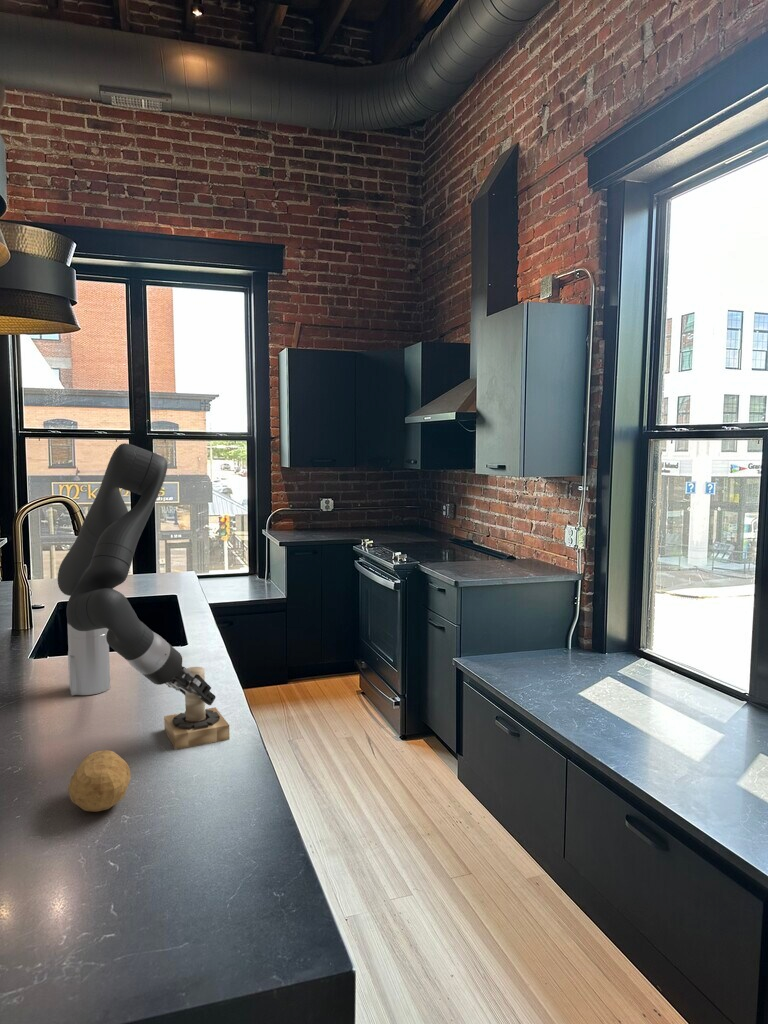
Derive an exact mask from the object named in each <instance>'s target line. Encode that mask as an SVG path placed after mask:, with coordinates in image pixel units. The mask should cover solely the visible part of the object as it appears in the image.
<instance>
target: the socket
mask: <svg viewBox="0 0 768 1024" xmlns="http://www.w3.org/2000/svg"><path fill="white" fill-rule="evenodd" d="M205 715H206V720H205V721H203V722H198V723H189V722H186V710H185V711H184V712H180V713H175V714H174V713H173V714H169V715H164V716H163V717H164V718H163V720H164V721H163V723H164V732H165V733H166V735H167V737H168V739H169V741H170V742H171V744H172V747H173V748H174V750H176V749H177V750H181V748H182V749H186V747H187V748H192V747H197V746H201V745H206V744H211V743H216V742H222V741H228V740H230V724H229V723H228V722H227V720H226V719H225V717H224V716H223V715H222V713H221V712H220V711H219V710H218V708H217V707H211V708H209V707H208V708H205Z"/></svg>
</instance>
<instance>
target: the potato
mask: <svg viewBox="0 0 768 1024" xmlns="http://www.w3.org/2000/svg"><path fill="white" fill-rule="evenodd" d="M131 774H132V773H131V769H130V765H128V763H127V761H125V760H124V759H123V758H122V757H121V756H120V755H119V754H117V753H116V752H114V751H112V750H106V749H104V750H98V751H94V752H92V753H90V754H88V755H87V756H85V757H84V758H83V760H82V761H81V762H80V763H79V765H78V766H77V768H76V769H75V771H74V772H73V775H72V777H71V778H70V782H69V784H68V790H67V791H68V794H69V799H70V800H71V802H72V803H73V804H75V805H76V806H78V808H80V809H82V811H85V812H94V813H95V812H101V811H106V810H109V809H111V808H112V807H114V806H115V805H116V804H117V803H119V802H120V801H121V800H123V799H124V798H125V796H126V794H127V791H128V787H129V784H130V781H131V780H132V777H131Z"/></svg>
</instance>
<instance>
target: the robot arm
mask: <svg viewBox="0 0 768 1024" xmlns="http://www.w3.org/2000/svg"><path fill="white" fill-rule="evenodd" d="M167 473H168V460H167V459H166V457H164V456H162V455H160V454H158V453H155V452H153V451H150V450H148V449H145V448H142V447H139V446H137V445H134V444H131V443H121V444H119V445H117V446H116V448H115V449H114V451H113V453H112V454H111V457H110V458H109V461H108V464H107V466H106V470H105V472H104V475H103V478H102V481H101V484H100V487H99V489H98V491H97V494H96V495H95V498H94V500H93V502H92V504H91V506H90V508H89V510H88V512H87V514H86V515H85V517H84V520H83V522H82V525H81V528H80V530H79V532H78V535H77V537H76V539H75V541H74V543H73V545H72V546H71V547H70V549H69V551H67V553H66V554H65V556H64V557H63V560H62V561H61V563H60V565H59V568H58V572H57V586H58V588H59V591H61V593H63V595H66V596H69V599H68V601H67V603H66V604H67V605H66V610H65V611H66V618H67V619H66V620H67V621H66V622H67V623H66V624H67V645H68V651H67V661H68V665H67V666H68V668H67V669H68V687H69V688H68V689H69V693H70V696H90V695H96V694H101V693H104V692H106V691H108V690H109V689H110V688H111V664H110V648H111V649H113V650H114V652H116V653H117V654H119V655H120V656H121V657H122V658H123V659H124V660H125V661H127V662H128V664H129V665H130V666H131V667H132V668H133V669H135V670H136V671H137V672H139V673H140V674H141V675H142V676H144V677H145V678H147V679H148V680H149V681H150V682H151V683H153V684H154V685H156V686H157V685H166V686H167V687H168V688H172V689H174V690H175V691H178V692H180V693H182V694H183V695H184V696H185V692H187V693H193V694H194V695H196V696H197V697H198V698H200V699H201V700H202V701H204V702H205V705H208V706H212V705H213V703H214V701H215V699H216V695H215V694H214V693H212V692H211V689H212V687H211V685H210V684H209V683H208V682H206V680H205V681H204V680H203V679H202V678H201V677H200V675H197V674H196V675H193V674H192V673H190V671H189V670H188V669H187V667H185V666H183V656H182V654H181V652H179V651H178V650H177V649H176V648H174V647H173V646H172V644H170V643H169V642H167V640H166V639H164V638H163V637H162V636H161V635H159V634H158V633H156V632H154V631H153V630H152V629H151V628H150V627H148V626H147V624H145V623H144V622H143V621H141V620H140V619H139V618H138V616H137V613H136V612H135V610H134V608H133V607H132V605H131V603H130V601H129V600H128V598H127V597H126V596H125V595H124V594H123V593H121V592H120V591H118V590H116V589H115V588H116V587H117V586H120V585H121V584H123V583H124V582H125V581H126V579H128V576H129V573H130V569H131V565H132V563H133V559H134V556H135V553H136V549H137V545H138V543H139V540H140V538H141V536H142V533H143V531H144V529H145V527H146V525H147V522H148V521H149V518H150V516H151V514H152V511H153V508H155V507H154V506H155V503H156V502H157V499H158V497H159V494H160V492H161V489H162V486H163V485H164V482H165V479H166V477H167ZM120 490H123V491H128V492H131V493H133V494H136V495H139V496H140V498H139V500H138V501H137V503H136V504H135V505H134V506H133V508H131V509H130V510H128V507H127V505H126V503H125V501H124V498H123V497H122V495H121V491H120ZM188 685H189V686H190V687H189V688H188V689H187V688H186V687H187V686H188Z"/></svg>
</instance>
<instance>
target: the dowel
mask: <svg viewBox="0 0 768 1024" xmlns="http://www.w3.org/2000/svg"><path fill="white" fill-rule="evenodd" d="M186 668H187V667H186ZM187 669H188V670H189V671H190V673H192V674H193V675H196V674H197V675H200V677H201V678H202V679H203V680H204V681H205V682H206V680H205V677H206V675H205V673H206V672H205V668H204V667H202V666H191V667H188V668H187ZM189 687H190V686H189V685H188V686H187V687H186V688H187V689H188V688H189ZM184 699H185V701H184V702H185V704H184V705H185V706H184V707H185V711H186V722H189V723H198V722H203V721H205V720H206V715H205V709H206V703H205V702H204V701H202V700H201V699H200V698H198V697H197V696H196V695H194V694H193V693H187V692H185V695H184Z"/></svg>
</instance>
